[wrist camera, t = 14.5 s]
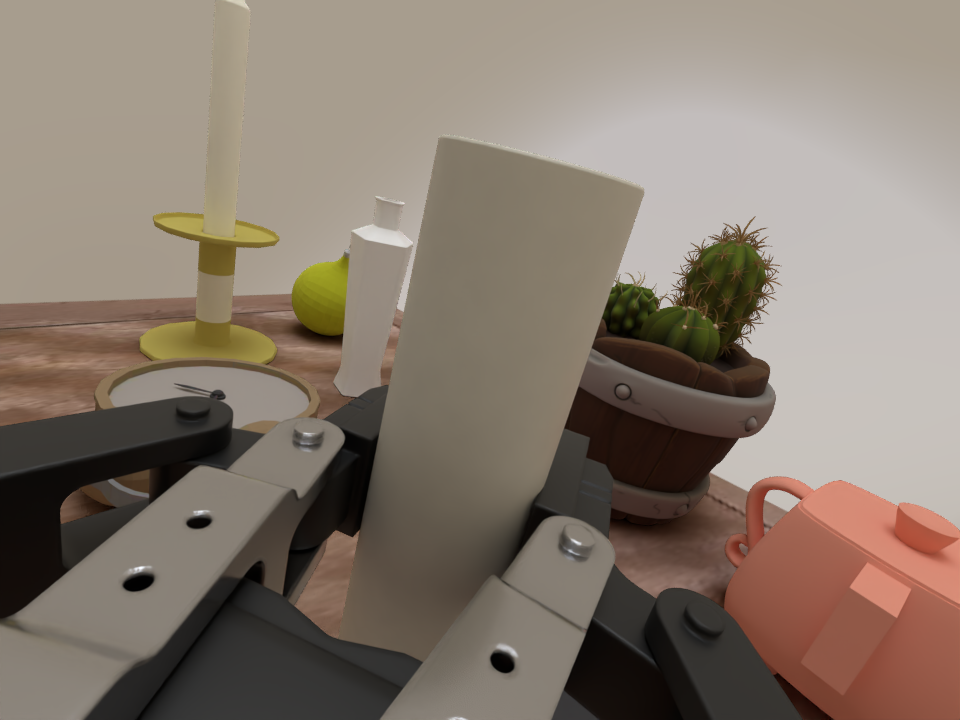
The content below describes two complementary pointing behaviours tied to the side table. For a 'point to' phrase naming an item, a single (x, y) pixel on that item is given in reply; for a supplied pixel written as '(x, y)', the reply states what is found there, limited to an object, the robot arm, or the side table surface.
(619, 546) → the side table surface
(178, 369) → the alarm clock
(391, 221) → the perfume bottle
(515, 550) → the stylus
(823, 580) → the teapot
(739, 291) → the flowerpot
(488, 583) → the robot arm
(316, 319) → the ornament
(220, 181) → the candle
